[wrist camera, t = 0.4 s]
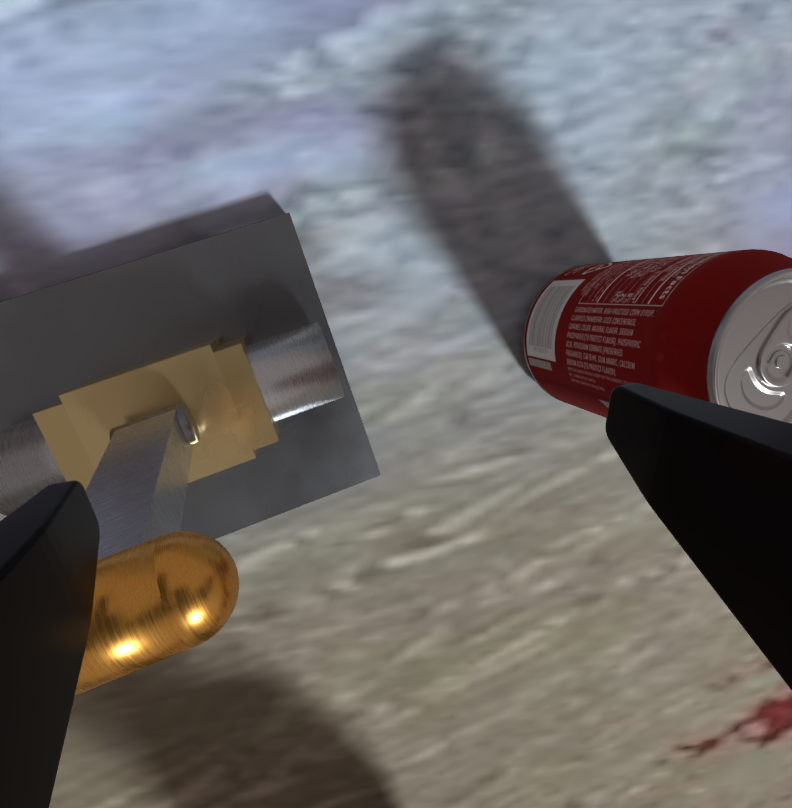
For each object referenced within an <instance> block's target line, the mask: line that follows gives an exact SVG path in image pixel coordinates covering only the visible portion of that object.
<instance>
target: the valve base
mask: <svg viewBox="0 0 792 808" xmlns="http://www.w3.org/2000/svg"><path fill="white" fill-rule="evenodd" d="M183 403H185V404H186V405H187V406H188V408H189V409H190V411H191V413H192V415H193V417H194V419H195V422H196V425H197V428H198V431H199V436H200V441H199V442H197V443H195V444H193V452H192V458H191V465H190V471H189V478H188V484H187V490H186V497H185V503H184V510H183V516H182V523H181V529H180V532H181V531H189V532H197V533H201V534H204V535H207V536H209V537H211V538H213V539H216V538H219V537H221V536H224V535H227V534H229V533H232V532H234V531H237V530H239V529H242V528H245V527H247V526H250V525H252V524H255V523H258V522H260V521H263V520H265V519H268V518H271V517H273V516H276V515H278V514H281V513H284V512H286V511H289V510H291V509H294V508H296V507H299V506H302V505H304V504H307V503H309V502H312V501H315V500H317V499H320V498H322V497H325V496H328V495H330V494H333V493H335V492H338V491H340V490H343V489H346V488H348V487H351V486H353V485H356V484H359V483H361V482H364V481H366V480H369V479H372V478H374V477H377V476H379V475H380V472H379V469H378V466H377V463H376V460H375V457H374V455H373V452H372V449H371V446H370V443H369V440H368V437H367V435H366V432H365V429H364V426H363V423H362V420H361V417H360V414H359V412H358V409H357V406H356V403H355V400H354V397H353V394H352V391H351V389H350V386H349V383H348V380H347V377H346V374H345V371H344V369H343V366H342V363H341V360H340V357H339V354H338V351H337V348H336V346H335V343H334V340H333V337H332V334H331V331H330V328H329V325H328V323H327V320H326V317H325V314H324V311H323V308H322V305H321V303H320V300H319V297H318V294H317V291H316V288H315V285H314V282H313V280H312V277H311V274H310V271H309V268H308V265H307V262H306V259H305V257H304V254H303V251H302V248H301V245H300V242H299V239H298V237H297V234H296V231H295V228H294V225H293V222H292V219H291V216H290V214H289V213H286V214H283V215H280V216H277V217H274V218H270V219H267V220H264V221H261V222H257V223H254V224H251V225H248V226H245V227H241V228H238V229H235V230H232V231H228V232H225V233H222V234H219V235H215V236H212V237H209V238H206V239H203V240H199V241H196V242H193V243H190V244H186V245H183V246H180V247H177V248H174V249H170V250H167V251H164V252H161V253H157V254H154V255H151V256H148V257H145V258H141V259H138V260H135V261H132V262H128V263H125V264H122V265H119V266H115V267H112V268H109V269H106V270H103V271H99V272H96V273H93V274H90V275H86V276H83V277H80V278H77V279H74V280H70V281H67V282H64V283H61V284H57V285H54V286H51V287H48V288H45V289H41V290H38V291H35V292H32V293H28V294H25V295H22V296H19V297H15V298H12V299H9V300H6V301H3V302H0V513H1V514H4V515H6V516H8V515H9V514H11V513H12V512H13V511H15V510H16V509H17V508H19V507H20V506H21V505H23V504H24V503H25V502H27V501H28V500H29V499H31V498H32V497H33V496H34V495H36V494H37V493H38V492H40V491H41V490H42V489H44V488H45V487H46V486H48V485H51V484H55V483H61V482H67V481H74V480H76V481H78V482H80V483H81V484H82V485H83V487H84V489H85V491H86V489H87V487H88V485H89V483H90V481H91V479H92V477H93V475H94V473H95V471H96V468H97V466H98V464H99V462H100V460H101V458H102V456H103V454H104V452H105V450H106V448H107V446H108V444H109V442H110V430H111V428H114V427H117V426H120V425H123V424H125V423H128V422H131V421H134V420H137V419H140V418H143V417H145V416H148V415H151V414H154V413H157V412H160V411H163V410H165V409H168V408H171V407H174V406H177V405H180V404H183Z"/></svg>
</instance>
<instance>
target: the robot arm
mask: <svg viewBox="0 0 792 808" xmlns="http://www.w3.org/2000/svg"><path fill="white" fill-rule="evenodd" d="M606 433H607V436H608V438H609V440H610V442H611V444H612V445H613V447H614V449H615V450H616V452H617V453H618V455H619V457H620V458H621V460H622V462H623V463H624V465H625V467H626V468H627V470H628V471H629V473H630V475H631V476H632V478H633V480H634V481H635V483H636V485H637V486H638V488H639V489H640V491H641V493H642V494H643V496H644V497H645V499H646V500H647V502H648V503H649V505H650V506H651V507H652V509H653V510H654V512H655V513H656V514H657V516H658V517H659V518H660V519H661V521H662V522H663V523H664V525H665V526H666V527H667V529H668V530H669V531H670V532H671V534H672V535H673V536H674V538H675V539H676V540H677V542H678V543H679V544H680V546H681V547H682V548H683V549H684V551H685V552H686V553H687V555H688V556H689V557H690V559H691V560H692V561H693V562H694V564H695V565H696V566H697V568H698V569H699V570H700V572H701V573H702V574H703V575H704V577H705V578H706V579H707V581H708V582H709V583H710V585H711V586H712V587H713V588H714V590H715V591H716V592H717V594H718V595H719V596H720V598H721V599H722V600H723V602H724V603H725V604H726V605H727V607H728V608H729V609H730V611H731V612H732V613H733V615H734V616H735V617H736V618H737V620H738V621H739V622H740V624H741V625H742V626H743V628H744V629H745V630H746V631H747V633H748V634H749V635H750V637H751V638H752V639H753V641H754V642H755V643H756V645H757V646H758V647H759V648H760V650H761V651H762V652H763V654H764V655H765V656H766V658H767V659H768V660H769V661H770V663H771V664H772V665H773V667H774V668H775V669H776V671H777V672H778V673H779V674H780V676H781V677H782V678H783V680H784V681H785V682H786V684H787V685H788V686H789V687H790V689H791V690H792V424H791V423H788V422H784V421H780V420H776V419H772V418H768V417H765V416H761V415H757V414H753V413H749V412H746V411H742V410H738V409H734V408H730V407H727V406H723V405H719V404H715V403H711V402H708V401H704V400H700V399H696V398H692V397H688V396H685V395H681V394H677V393H673V392H669V391H666V390H662V389H658V388H654V387H650V386H647V385H643V384H639V383H631V384H626V385H620V386H616V387H615V388H614V389H613V390H612V392H611V395H610V401H609V407H608V414H607V420H606ZM99 540H100V528H99V523H98V520H97V517H96V515H95V513H94V510H93V508H92V505H91V503H90V501H89V498H88V496H87V493H86V491H85V489H84V487H83V485H82V484H81V483H80V482H78V481H76V480H74V481H67V482H61V483H55V484H51V485H48V486H46V487H45V488H44V489H42V490H41V491H40V492H38V493H37V494H36V495H34V496H33V497H32V498H31V499H29V500H28V501H27V502H25V503H24V504H23V505H21V506H20V507H19V508H17V509H16V510H15V511H13V512H12V513H11V514H9V515H8V516H7V517H5V518H4V519H3V520H1V521H0V808H49V804H50V800H51V796H52V791H53V787H54V783H55V778H56V774H57V770H58V765H59V761H60V757H61V752H62V748H63V744H64V739H65V735H66V731H67V726H68V722H69V718H70V713H71V709H72V705H73V700H74V696H75V692H76V687H77V683H78V679H79V674H80V670H81V666H82V661H83V657H84V653H85V648H86V644H87V640H88V635H89V630H90V625H91V618H92V610H93V600H94V590H95V580H96V570H97V560H98V550H99Z"/></svg>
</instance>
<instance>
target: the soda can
mask: <svg viewBox="0 0 792 808" xmlns="http://www.w3.org/2000/svg"><path fill="white" fill-rule="evenodd" d="M523 349H524V355H525V360H526V363H527V366H528V368H529V370H530V373H531V374H532V376H533V378H534V379H535V381H536V382H537V383H538V385H539V386H540V387H541V388H542V389H543V390H544V391H545V392H547V393H548V394H549V395H551V396H552V397H554V398H556V399H558V400H560V401H563V402H565V403H568V404H571V405H573V406H576V407H579V408H582V409H584V410H587V411H590V412H592V413H595V414H598V415H601V416H603V417H606V418H607V414H608V407H609V401H610V395H611V392H612V390H613V389H614V388H615V387H616V386H620V385H626V384H631V383H639V384H643V385H647V386H650V387H654V388H658V389H662V390H666V391H669V392H673V393H677V394H681V395H685V396H688V397H692V398H696V399H700V400H704V401H708V402H711V403H715V404H719V405H723V406H727V407H730V408H734V409H738V410H742V411H746V412H749V413H753V414H757V415H761V416H765V417H768V418H772V419H776V420H780V421H784V422H788V423H791V424H792V258H790V257H787V256H785V255H783V254H780V253H777V252H773V251H767V250H755V249H751V250H739V251H728V252H718V253H707V254H696V255H685V256H675V257H664V258H653V259H643V260H632V261H621V262H610V263H600V264H589V265H581V266H577V267H574V268H571V269H568V270H566V271H564V272H562V273H560V274H559V275H557V276H556V277H554V278H553V279H552V280H551V281H549V282H548V283H547V284H546V285H545V286H544V287H543V288H542V290H541V291H540V292H539V293H538V295H537V296H536V298H535V299H534V301H533V303H532V305H531V307H530V309H529V312H528V314H527V317H526V321H525V325H524V332H523Z"/></svg>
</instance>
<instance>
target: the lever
mask: <svg viewBox="0 0 792 808" xmlns="http://www.w3.org/2000/svg"><path fill="white" fill-rule="evenodd" d="M199 441H200V436H199V431H198V428H197V425H196V422H195V419H194V417H193V415H192V413H191V411H190V409H189V408H188V406H187V405H186V404H185V403H183V404H180V405H177V406H174V407H171V408H168V409H165V410H163V411H160V412H157V413H154V414H151V415H148V416H145V417H143V418H140V419H137V420H134V421H131V422H128V423H125V424H123V425H120V426H117V427H114V428H111V430H110V442H109V444H108V446H107V448H106V450H105V452H104V454H103V456H102V458H101V460H100V462H99V464H98V466H97V468H96V471H95V473H94V475H93V477H92V479H91V481H90V483H89V485H88V487H87V489H86V493H87V496H88V498H89V501H90V503H91V505H92V508H93V510H94V513H95V515H96V517H97V520H98V523H99V528H100V540H99V550H98V560H97V570H96V580H95V590H94V600H93V610H92V618H91V625H90V630H89V635H88V640H87V644H86V648H85V653H84V657H83V661H82V666H81V670H80V674H79V679H78V683H77V687H76V692H75V696H76V695H79V694H81V693H84V692H86V691H89V690H91V689H93V688H96V687H98V686H101V685H103V684H106V683H108V682H110V681H113V680H115V679H118V678H120V677H123V676H125V675H127V674H130V673H132V672H135V671H137V670H140V669H142V668H144V667H147V666H149V665H152V664H154V663H157V662H159V661H161V660H164V659H166V658H169V657H171V656H174V655H176V654H178V653H181V652H183V651H186V650H188V649H191V648H193V647H195V646H197V645H199V644H201V643H203V642H205V641H207V640H209V639H210V638H211V637H212V636H214V635H215V634H216V633H217V632H218V631H219V630H220V629H221V628H222V627H223V626H224V624H225V623H226V622H227V621H228V619H229V617H230V615H231V614H232V612H233V610H234V607H235V604H236V602H237V598H238V592H239V577H238V571H237V567H236V564H235V562H234V560H233V559H232V557H231V555H230V554H229V552H228V551H227V550H226V549H225V548H224V547H223V546H222V545H221V544H220V543H219V542H218V541H216V540H214V539H213V538H211V537H209V536H207V535H204V534H201V533H197V532H189V531H181V532H180V529H181V523H182V516H183V510H184V503H185V497H186V490H187V484H188V478H189V471H190V465H191V458H192V452H193V444H195V443H197V442H199Z"/></svg>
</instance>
